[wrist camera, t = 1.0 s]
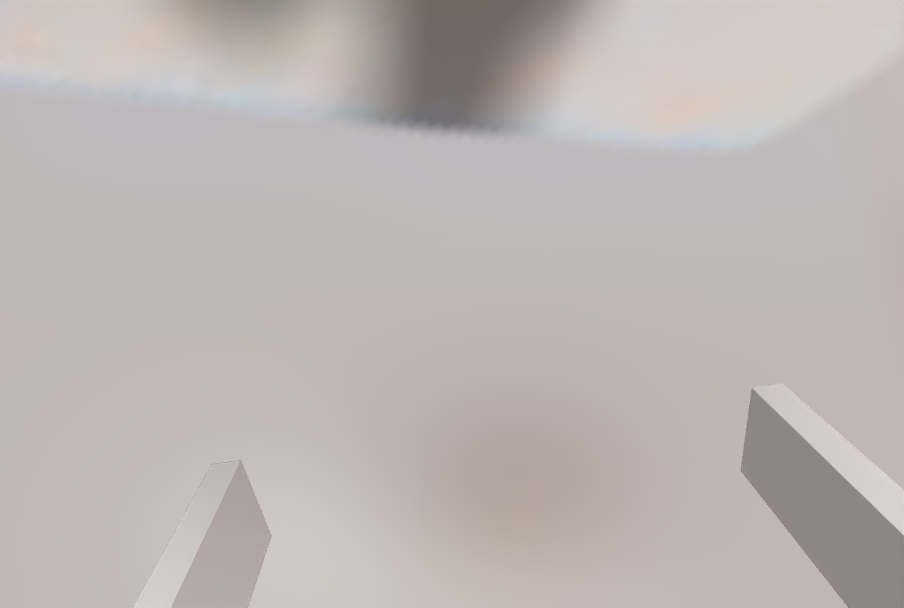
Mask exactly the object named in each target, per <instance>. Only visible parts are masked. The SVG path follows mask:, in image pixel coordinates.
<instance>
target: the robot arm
mask: <svg viewBox="0 0 904 608" xmlns="http://www.w3.org/2000/svg"><path fill="white" fill-rule="evenodd" d="M741 472H742V473H743V474H744V475H745V477H746V478H747V479H748V480H749V482H750V483H751V484H752V486H753V487H754V488H755V490H756V491H757V492H758V493H759V495H760V496H761V497H762V498H763V500H764V501H765V502H766V503H767V505H768V506H769V507H770V508H771V510H772V511H773V512H774V514H775V515H776V516H777V517H778V519H779V520H780V521H781V523H782V524H783V525H784V526H785V527H786V529H787V530H788V531H789V533H790V534H791V535H792V536H793V538H794V539H795V540H796V541H797V543H798V544H799V545H800V547H801V548H802V549H803V550H804V552H805V553H806V554H807V556H808V557H809V558H810V559H811V561H812V562H813V563H814V564H815V566H816V567H817V568H818V569H819V571H820V572H821V573H822V574H823V576H824V577H825V578H826V580H827V581H828V582H829V583H830V585H831V586H832V587H833V589H834V590H835V591H836V592H837V594H838V595H839V596H840V597H841V599H842V600H843V601H844V603H845V604H846V605H847V606H848V608H904V490H903V489H902V488H901V487H899V486H898V485H897V484H896V483H895V482H894V481H893V480H892V479H890V478H889V477H888V476H887V475H886V474H885V473H883V472H882V471H881V470H880V469H879V468H878V467H876V466H875V465H874V464H873V463H872V462H871V461H870V460H869V459H868V458H866V457H865V456H864V455H863V454H862V453H861V452H860V451H858V450H857V449H856V448H855V447H854V446H853V445H852V444H850V443H849V442H848V441H847V440H846V439H845V438H844V437H842V436H841V435H840V434H839V433H838V432H837V431H836V430H835V429H833V428H832V427H831V426H830V425H829V424H828V423H826V422H825V421H824V420H823V419H822V418H821V417H820V416H819V415H817V414H816V413H815V412H814V411H813V410H812V409H811V408H809V407H808V406H807V405H806V404H805V403H804V402H803V401H802V400H800V399H799V398H798V397H797V396H796V395H794V393H792V392H791V391H790V390H789V389H788V388H787V387H786V386H784V385H783V384H775V385H768V386H761V387H754V388H752V391H751V399H750V405H749V413H748V420H747V427H746V435H745V442H744V450H743V457H742V464H741ZM270 539H271V534H270V531H269V529H268V526H267V524H266V521H265V519H264V516H263V514H262V511H261V509H260V506H259V504H258V502H257V499H256V497H255V494H254V492H253V489H252V487H251V484H250V482H249V480H248V477H247V475H246V472H245V469H244V467H243V465H242V462H241V460H238V461H231V462H224V463H217V464H211V466H210V468H209V470H208V472H207V473H206V475H205V477H204V479H203V481H202V482H201V484H200V486H199V488H198V490H197V492H196V494H195V495H194V497H193V499H192V501H191V503H190V504H189V506H188V508H187V510H186V512H185V514H184V515H183V517H182V519H181V521H180V523H179V525H178V527H177V529H176V530H175V532H174V534H173V536H172V538H171V539H170V541H169V543H168V545H167V547H166V549H165V550H164V552H163V554H162V556H161V558H160V560H159V561H158V563H157V565H156V567H155V569H154V571H153V573H152V574H151V576H150V578H149V580H148V582H147V584H146V585H145V587H144V589H143V591H142V593H141V595H140V596H139V598H138V600H137V602H136V604H135V606H134V607H133V608H248V605H249V602H250V599H251V596H252V593H253V590H254V587H255V584H256V581H257V578H258V575H259V572H260V569H261V566H262V563H263V560H264V557H265V554H266V551H267V548H268V545H269V542H270Z"/></svg>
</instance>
